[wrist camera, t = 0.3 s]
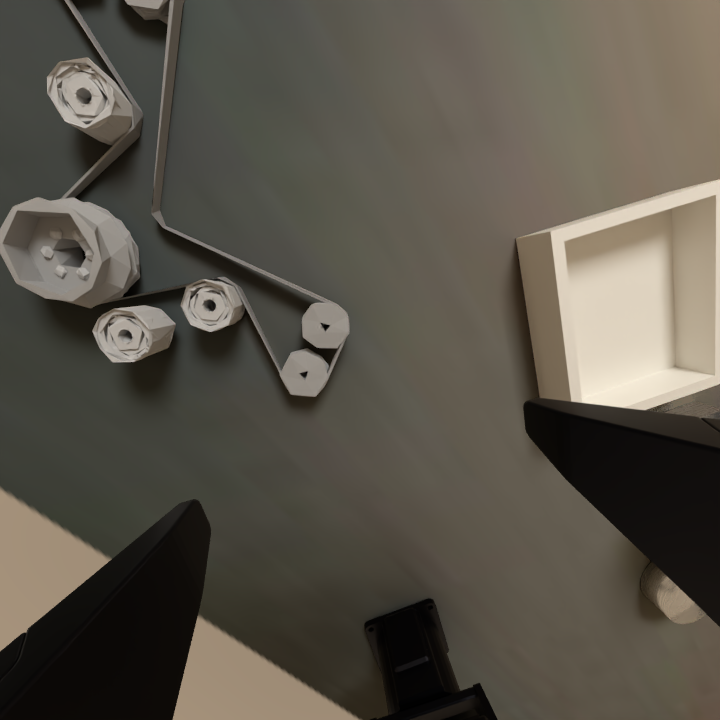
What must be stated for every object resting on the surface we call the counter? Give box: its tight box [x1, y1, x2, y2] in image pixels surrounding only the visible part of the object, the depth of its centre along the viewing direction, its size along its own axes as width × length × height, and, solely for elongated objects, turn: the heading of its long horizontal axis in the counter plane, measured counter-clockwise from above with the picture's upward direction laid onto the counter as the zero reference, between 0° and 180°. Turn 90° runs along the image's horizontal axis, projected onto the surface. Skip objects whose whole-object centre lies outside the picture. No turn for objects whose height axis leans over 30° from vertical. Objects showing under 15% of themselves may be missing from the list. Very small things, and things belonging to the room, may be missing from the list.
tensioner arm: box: [640, 401, 720, 624], centre depth 30 cm, size 21×7×2 cm, turn 16°
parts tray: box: [516, 179, 720, 410], centre depth 24 cm, size 14×12×4 cm
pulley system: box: [0, 0, 349, 397], centre depth 19 cm, size 27×5×15 cm
